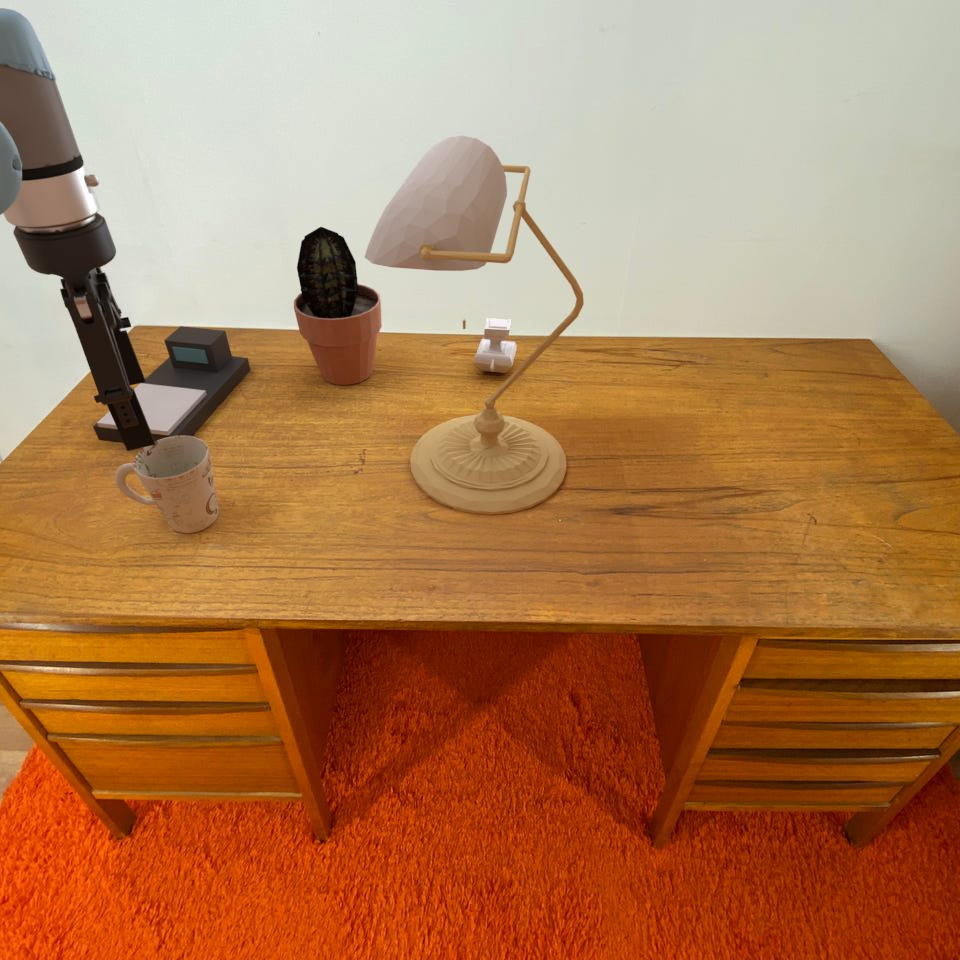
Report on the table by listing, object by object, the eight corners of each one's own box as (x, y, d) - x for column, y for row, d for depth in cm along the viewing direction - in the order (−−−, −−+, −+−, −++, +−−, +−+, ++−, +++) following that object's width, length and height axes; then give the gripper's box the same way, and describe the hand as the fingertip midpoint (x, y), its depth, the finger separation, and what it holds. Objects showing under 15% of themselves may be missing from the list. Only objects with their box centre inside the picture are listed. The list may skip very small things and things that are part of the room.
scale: (180, 450, 92) (164, 407, 88) (98, 439, 94) (78, 397, 89) (250, 370, 110) (241, 330, 105) (180, 362, 111) (168, 323, 107)
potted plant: (403, 366, 111) (392, 219, 95) (349, 402, 103) (328, 247, 86) (344, 345, 117) (325, 202, 101) (289, 377, 108) (258, 227, 92)
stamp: (480, 353, 115) (481, 309, 110) (517, 356, 115) (519, 312, 109) (472, 378, 109) (472, 333, 103) (510, 382, 108) (513, 337, 102)
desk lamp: (425, 396, 104) (412, 120, 78) (567, 407, 102) (601, 128, 76) (381, 528, 81) (341, 196, 55) (564, 545, 79) (612, 210, 53)
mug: (215, 541, 79) (193, 479, 72) (114, 538, 79) (82, 476, 72) (236, 496, 85) (217, 435, 78) (143, 494, 85) (116, 433, 79)
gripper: (107, 261, 51) (185, 467, 65) (99, 178, 68) (162, 355, 82) (-2, 277, 48) (103, 488, 62) (18, 186, 65) (97, 367, 79)
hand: (137, 412), depth 72 cm, fingers open, 13 cm apart
